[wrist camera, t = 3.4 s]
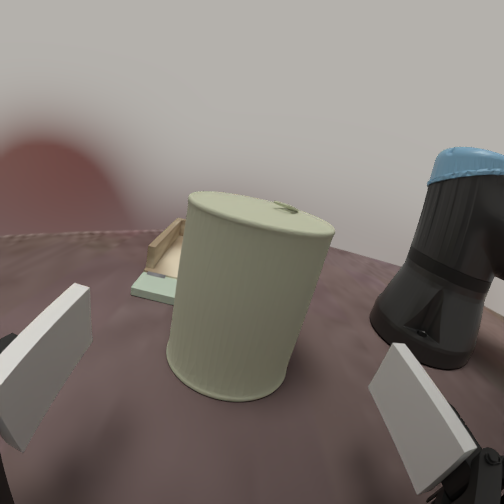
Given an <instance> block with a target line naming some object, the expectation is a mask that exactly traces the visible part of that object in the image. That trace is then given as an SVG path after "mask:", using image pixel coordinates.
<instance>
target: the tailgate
mask: <svg viewBox="0 0 504 504" xmlns="http://www.w3.org/2000/svg"><path fill="white" fill-rule="evenodd" d="M176 284H177V279H173V278H169V277H166V275H163V274H158V273H154V272H150V271H148V272H143V273H142V274H141V276H140V277H139V278H138V279H137V281H136V282H135V283H134V284H133V286H132V287H131V295H134V296H138V297H142V298H146V299H150V300H154V301H158V302H162V303H167V304H171V305H174V299H175V292H176Z"/></svg>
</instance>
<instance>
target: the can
mask: <svg viewBox="0 0 504 504" xmlns="http://www.w3.org/2000/svg"><path fill="white" fill-rule="evenodd" d="M334 234H335V229H334V227H333V226H331V225H330V224H329V223H327V222H326V221H324V220H322V219H320V218H318V217H316V216H313V215H311V214H308V213H306V212H303V211H300V210H298V209H296V208H295V207H292V206H290V205H287V204H284V203H281V202H278V201H274V202H270V201H266V200H262V199H258V198H253V197H248V196H243V195H237V194H230V193H223V192H209V191H203V192H194V193H191V194H190V195H189V197H188V209H187V215H186V222H185V229H184V235H183V242H182V248H181V255H180V262H179V269H178V276H177V284H176V292H175V299H174V307H173V315H172V323H171V330H170V337H169V341H168V344H167V348H166V355H167V360H168V363H169V366H170V368H171V369H172V371H173V372H174V374H175V375H176V376H177V377H178V378H179V379H180V380H181V381H182V382H183V383H184V384H186V385H187V386H188V387H190V388H191V389H193V390H195V391H197V392H199V393H201V394H203V395H205V396H208V397H211V398H215V399H219V400H224V401H232V402H244V401H252V400H256V399H260V398H263V397H265V396H267V395H269V394H271V393H272V392H274V391H275V390H276V389H278V387H279V386H280V385H281V384H282V382H283V381H284V378H285V376H286V369H287V366H288V363H289V360H290V357H291V354H292V352H293V349H294V346H295V343H296V341H297V338H298V335H299V333H300V330H301V327H302V324H303V322H304V319H305V316H306V313H307V310H308V308H309V305H310V302H311V299H312V296H313V293H314V290H315V288H316V285H317V282H318V279H319V276H320V273H321V270H322V267H323V264H324V261H325V258H326V255H327V252H328V249H329V246H330V243H331V240H332V238H333V236H334Z"/></svg>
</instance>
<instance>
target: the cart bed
mask: <svg viewBox="0 0 504 504" xmlns="http://www.w3.org/2000/svg"><path fill="white" fill-rule="evenodd" d="M185 222H186V219H181V218H177V219H176V220H175V221H174V222H173V223H172V224H171V225H170V226H169V227H167V228H166V229H165V230H164V231H163V232H162V233H161V234H160V235H159V236H158V237H157V238H156V239H155V240H154V241H153V242H152V243H151V244H150V245H149V246H148V254H147V263H146V268H145V269H144V272H148V271H150V272H154V273H158V274H163V275H166V277H169V278H173V279H177V276H178V269H179V262H180V255H181V248H182V242H183V235H184V229H185Z"/></svg>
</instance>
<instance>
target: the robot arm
mask: <svg viewBox="0 0 504 504" xmlns="http://www.w3.org/2000/svg"><path fill="white" fill-rule="evenodd" d="M427 187H428V191H427V195H426V198H425V202H424V206H423V210H422V213H421V216H420V219H419V223H418V226H417V229H416V232H415V235H414V238H413V241H412V244H411V247H410V250H409V253H408V256H407V258H406V261H405V263H404V264H403V266H402V267H401V268H400V270H399V271H398V272H397V274H396V275H395V276H394V278H393V279H392V280H391V282H390V283H389V284H388V286H387V287H386V288H385V290H384V291H383V293H381V294H380V295H379V296H378V298H377V299H376V302H375V304H374V306H373V309H372V311H371V314H370V320H371V323H372V325H373V327H374V328H375V330H376V331H377V332H378V333H379V335H380V336H381V337H382V338H383V339H384V340H386V341H387V342H388V343H389V344H390V345H391V347H390V348H389V350H388V352H387V354H386V356H385V358H384V360H383V362H382V363H381V365H380V367H379V369H378V371H377V372H376V374H375V376H374V378H373V379H372V381H371V383H370V384H369V386H368V388H369V390H370V392H371V394H372V396H373V399H374V401H375V403H376V405H377V407H378V409H379V411H380V413H381V415H382V417H383V420H384V422H385V424H386V426H387V428H388V430H389V432H390V435H391V437H392V439H393V441H394V443H395V446H396V448H397V450H398V452H399V454H400V457H401V459H402V461H403V463H404V466H405V468H406V470H407V473H408V475H409V477H410V480H411V482H412V484H413V487H414V489H415V492H416V494H417V495H419V494H422V493H425V492H428V491H430V490H432V489H433V488H434V487H436V486H437V485H438V484H439V483H440V482H441V483H442V485H443V487H441V488H440V489H439V490H438V491H436V492H435V493H434V494H433V495H431V496H430V497H429V498H428V499H427V501H426V502H427V503H428V502H429V501H431V500H432V499H433V498H435V497H436V499H435V500H434V501H432V502H431V504H504V495H503V496H501V490H503V489H504V456H500V455H499V454H498V453H497V452H496V451H495V450H494V449H492V448H488V447H487V448H483V449H482V448H481V447H480V445H479V444H478V442H477V441H476V439H475V438H474V436H473V435H472V433H471V431H470V430H469V428H468V427H467V425H465V422H464V421H463V419H462V418H460V415H459V414H458V412H457V411H456V409H455V408H454V407H453V406H452V405H451V404H449V403H448V402H447V401H446V399H445V398H444V396H443V395H442V394H441V392H440V391H439V389H438V388H437V386H436V385H435V384H434V382H433V381H432V380H431V378H430V377H429V375H428V374H427V373H426V371H425V370H424V369H423V367H422V366H421V365H420V363H419V362H421V363H424V364H427V365H430V366H433V367H437V368H443V369H456V368H460V367H462V366H464V365H465V364H466V363H467V361H468V359H469V358H470V356H471V354H472V352H473V351H474V349H475V346H476V339H477V335H478V332H479V328H480V323H481V318H482V313H483V307H484V301H485V297H486V295H487V293H488V291H489V288H490V285H491V283H492V281H493V279H494V277H498V278H500V279H502V280H504V155H502V154H499V153H496V152H492V151H489V150H484V149H479V148H472V147H454V148H449V149H446V150H444V151H442V152H441V153H440V154H439V155H438V156H437V158H436V160H435V164H434V167H433V171H432V174H431V177H430V180H429V181H428V183H427ZM92 342H93V339H92V326H91V309H90V287H86V286H83V285H79V284H76V283H74V284H73V285H72V286H71V287H69V288H68V289H67V290H66V291H65V292H64V293H63V294H62V295H60V296H59V297H58V298H57V299H56V300H55V301H54V302H53V303H52V304H51V305H49V306H48V307H47V308H46V309H45V310H44V311H43V312H42V313H41V314H40V315H39V316H38V317H37V318H36V319H35V320H34V321H32V322H31V323H30V324H29V325H28V326H27V327H26V328H25V329H24V330H23V331H22V332H21V333H20V334H19V335H16V334H14V333H11V334H9V335H7V336H5V337H3V338H1V339H0V434H1V436H2V437H3V439H4V440H5V442H6V443H7V444H9V445H11V446H12V447H14V448H15V449H17V450H19V451H20V452H22V453H24V451H25V449H26V447H27V445H28V444H29V442H30V440H31V438H32V436H33V435H34V433H35V431H36V429H37V428H38V426H39V424H40V422H41V421H42V419H43V417H44V416H45V414H46V412H47V411H48V409H49V407H50V406H51V404H52V402H53V401H54V399H55V398H56V396H57V394H58V393H59V391H60V390H61V388H62V386H63V385H64V383H65V382H66V380H67V379H68V377H69V376H70V374H71V373H72V371H73V370H74V368H75V367H76V365H77V364H78V362H79V361H80V359H81V358H82V356H83V355H84V353H85V352H86V350H87V349H88V347H89V346H90V345H91V343H92ZM418 361H419V362H418ZM0 504H14V501H13V498H12V495H11V492H10V488H9V485H8V482H7V478H6V475H5V471H4V467H3V463H2V459H1V454H0Z"/></svg>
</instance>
